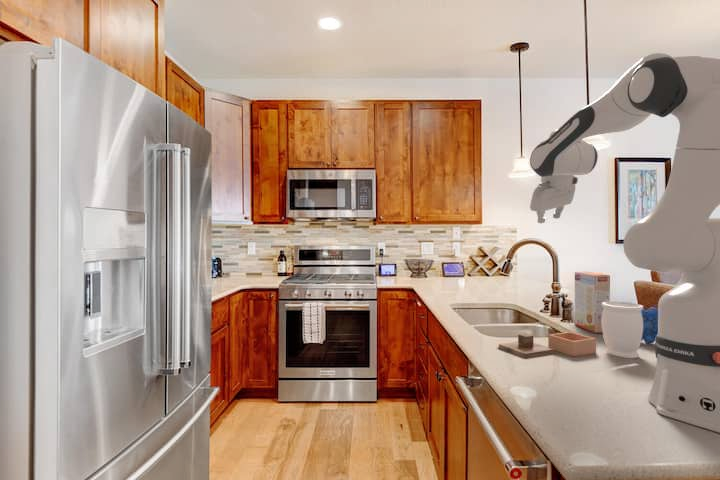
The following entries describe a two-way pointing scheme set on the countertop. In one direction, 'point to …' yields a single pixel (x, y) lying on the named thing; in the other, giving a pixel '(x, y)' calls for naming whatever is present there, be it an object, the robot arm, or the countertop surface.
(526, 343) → the lid
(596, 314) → the cracker box
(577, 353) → the dish
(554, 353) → the mat
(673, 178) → the robot arm
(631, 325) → the jar
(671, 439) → the countertop surface
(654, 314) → the grapes
